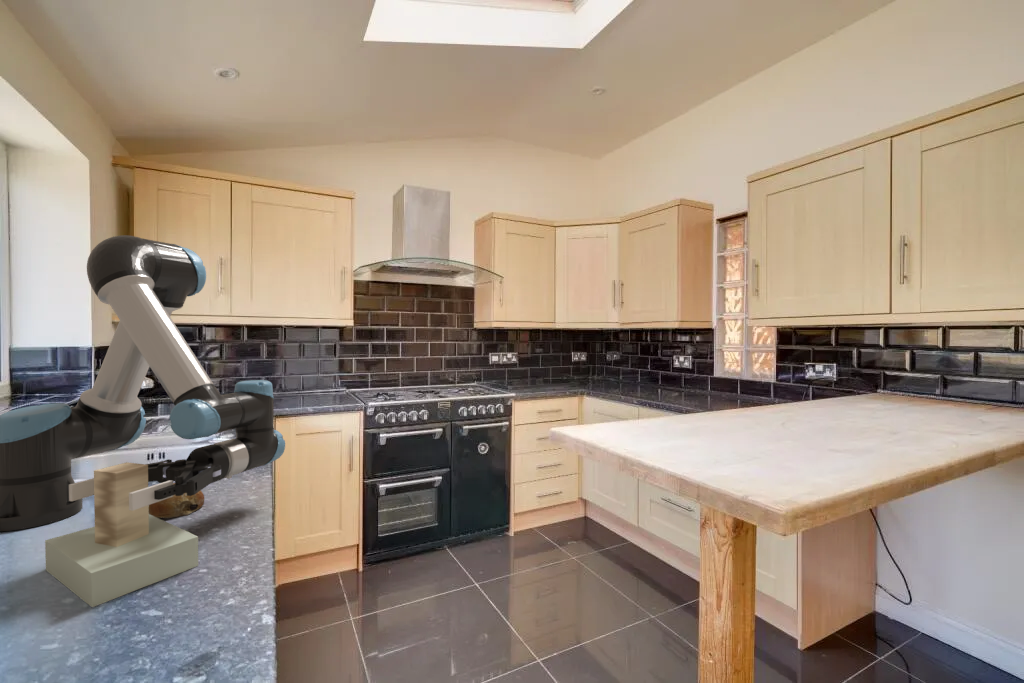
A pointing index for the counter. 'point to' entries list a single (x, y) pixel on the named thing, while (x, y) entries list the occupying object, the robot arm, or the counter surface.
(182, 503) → the bread roll
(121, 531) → the birch block
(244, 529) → the counter surface
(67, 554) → the block
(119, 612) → the counter surface
